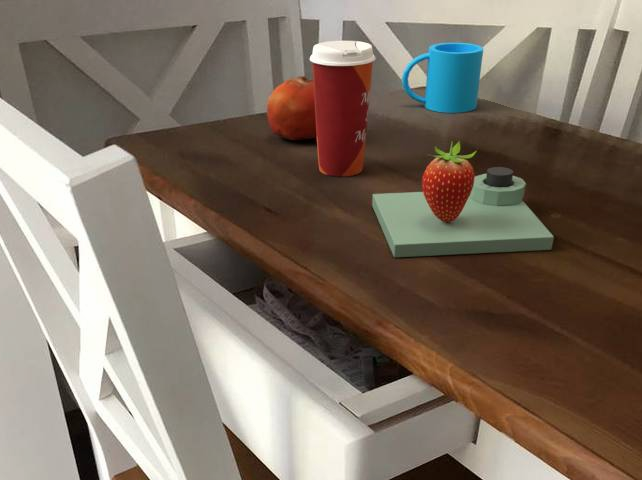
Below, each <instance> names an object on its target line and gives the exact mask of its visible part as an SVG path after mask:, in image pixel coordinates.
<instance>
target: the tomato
mask: <svg viewBox="0 0 642 480" xmlns="http://www.w3.org/2000/svg"><path fill="white" fill-rule="evenodd" d="M285 80H286V81H284V82H283V83H281V84H279V85H277V87H275V88H274V90H273V91H272V93H271V94H270V95H269V97H268V99H267V104H266V115H267V121H268V124H269V127H270V129H271V131H272V132H273V134H275V135H276V136H278V137H280V138H283V139H286V140H289V141H299V140H311V139H312V140H313V139H315V138H316V139H317V133H316V116H315V99H314V81H313V80H312V79H309V78H308V77H306V76H304V75H302V76H301V75H299V76H297V77H295V78H291V77H290V78H287V79H285Z"/></svg>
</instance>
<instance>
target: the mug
mask: <svg viewBox="0 0 642 480" xmlns="http://www.w3.org/2000/svg"><path fill="white" fill-rule="evenodd" d="M483 57H484V47H483V46H481V45H478V44H476V43H475V44H474V43H466V42H443V43H435V44H432V45H430V46H429V47H428V52H426V53H423V54H420V55H418V56H416V57H414V58H413V59H412V60H411V61H410V62H408V64H407V65H406V67H405V68H404V70H403V72H402V77H401V83H402V88H403V90H404V91H405V93H406V95H408V96H409V98H411V99H412V100H414V101H416V102H418V103H421V104H423V106H424V107H425V109H427V110H430V111H433V112H437V113H447V114H448V113H449V114H457V113H466V112H472V111H474V110H475V109H477V104H478V97H479V89H480V79H481V72H482V65H483V64H482V63H483ZM425 60H427V68H426V69H427V71H426V82H425V95H424V96H425V97H423V96H421V95H418V94H417V93H415V92H414V91H413V90H412V88H411V87H410V84H409V76H410V73H411V71H412V70H413V68H414V67H415V66H417V64H419V63H420V62H423V61H425Z"/></svg>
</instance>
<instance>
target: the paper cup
mask: <svg viewBox="0 0 642 480" xmlns="http://www.w3.org/2000/svg"><path fill="white" fill-rule="evenodd" d="M376 60H377V59H376V56H375V54H374V51H373V46H372V44H370V43H368V42H364V41H359V40H330V41H323V42H319V43H316V44H314V45H313V47H312V54H311V55H310V57H309V61H310V62H311V63H312V76H313V78H312V79H313V81H314V99H315V116H316V133H317V137H316V147H317V160H318V161H317V163H318V169H319V172H320V173H321V174H323V175H325V176H331V177H343V178H344V177H351V176H355V175H359V174H361V173H362V171H363V169H364V161H365V152H366V151H365V150H366V140H367V130H368V118H369V109H370V108H369V107H370V98H371V97H370V96H371V86H372V73H373V62H374V61H376Z"/></svg>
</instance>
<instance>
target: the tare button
mask: <svg viewBox="0 0 642 480" xmlns="http://www.w3.org/2000/svg"><path fill="white" fill-rule="evenodd" d="M486 174H487V175H486V182H485V184H486V185H489V186H491V187H499V188H500V187H509V186H511V184H512V178H513V176H514V170H513V169H511V168H508V167H505V166H494V167H493V166H492V167H489V168H488V169H487V170H486Z"/></svg>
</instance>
